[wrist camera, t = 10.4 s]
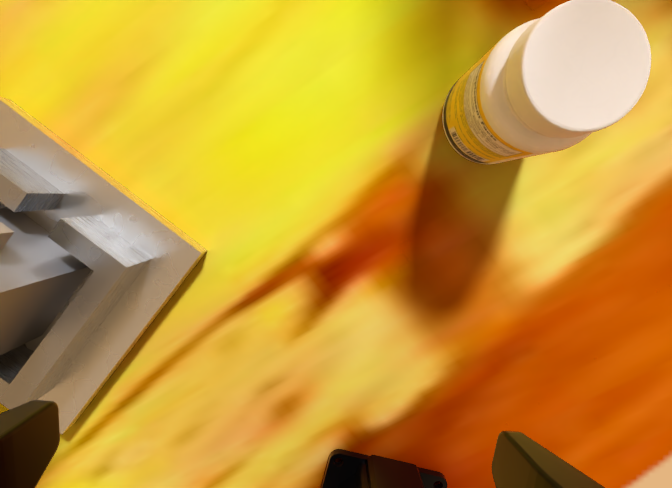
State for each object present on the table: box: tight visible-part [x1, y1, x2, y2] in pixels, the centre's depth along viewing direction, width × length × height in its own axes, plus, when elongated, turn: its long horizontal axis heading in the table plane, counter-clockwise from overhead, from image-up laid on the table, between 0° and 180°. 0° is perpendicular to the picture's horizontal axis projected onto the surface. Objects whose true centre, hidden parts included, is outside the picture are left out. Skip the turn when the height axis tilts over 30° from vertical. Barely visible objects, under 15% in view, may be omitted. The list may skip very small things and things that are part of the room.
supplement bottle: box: [442, 0, 651, 164], centre depth 17 cm, size 5×5×8 cm
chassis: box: [0, 97, 207, 434], centre depth 20 cm, size 12×12×4 cm
